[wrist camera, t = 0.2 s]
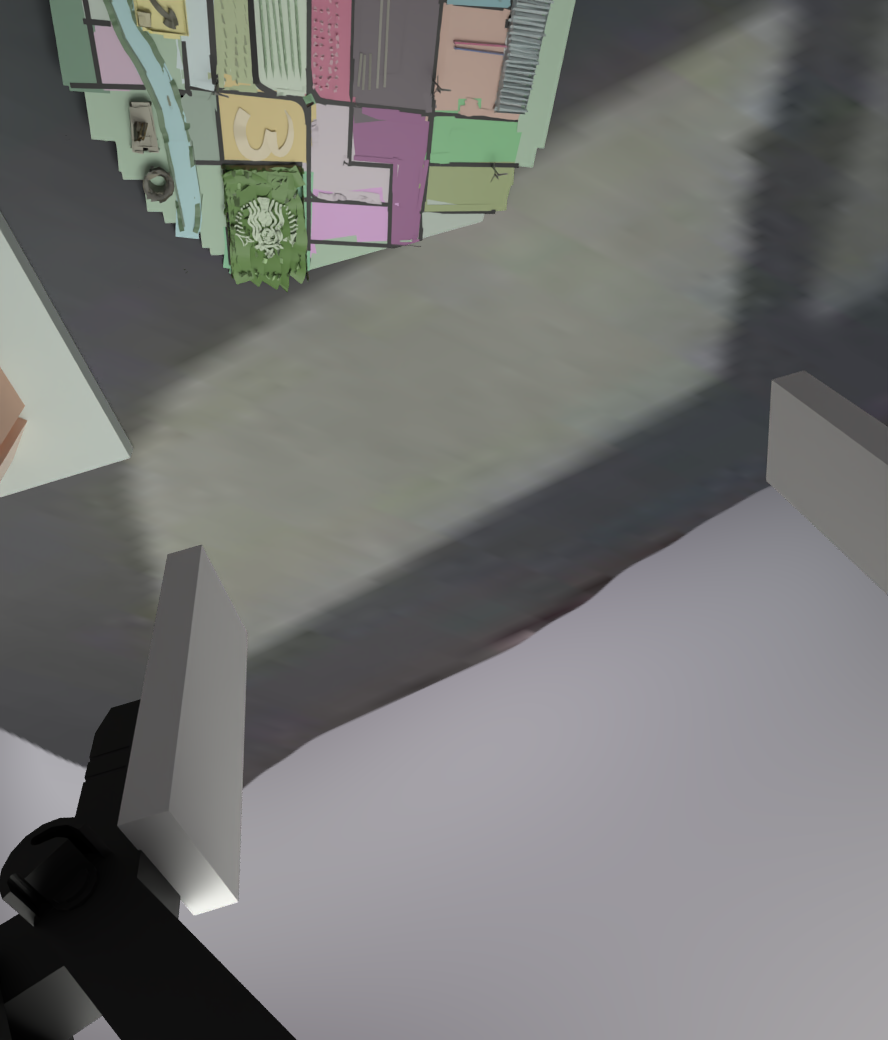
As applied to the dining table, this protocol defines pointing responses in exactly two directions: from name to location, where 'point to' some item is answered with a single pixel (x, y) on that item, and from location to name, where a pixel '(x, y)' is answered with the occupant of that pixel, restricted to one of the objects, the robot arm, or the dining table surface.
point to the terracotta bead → (9, 423)
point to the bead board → (49, 384)
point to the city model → (316, 115)
